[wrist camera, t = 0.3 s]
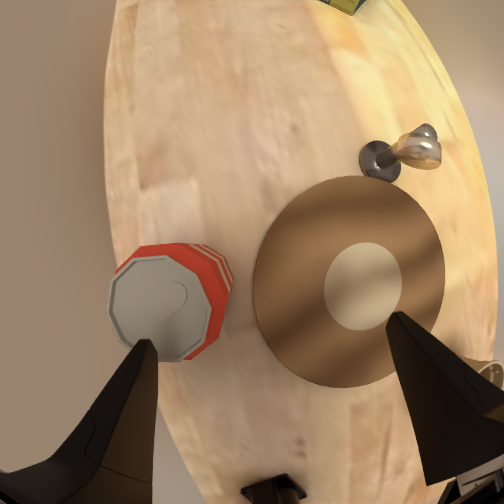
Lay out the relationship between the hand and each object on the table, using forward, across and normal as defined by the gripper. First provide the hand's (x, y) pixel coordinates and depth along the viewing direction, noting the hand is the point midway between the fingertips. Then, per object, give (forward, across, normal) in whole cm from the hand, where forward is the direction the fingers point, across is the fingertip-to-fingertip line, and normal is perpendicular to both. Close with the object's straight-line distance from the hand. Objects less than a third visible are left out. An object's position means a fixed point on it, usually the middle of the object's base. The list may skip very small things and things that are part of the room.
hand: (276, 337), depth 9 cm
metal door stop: (+18, -13, 0) cm, 22 cm away
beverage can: (+12, +5, +8) cm, 16 cm away
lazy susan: (+11, -10, +9) cm, 17 cm away
